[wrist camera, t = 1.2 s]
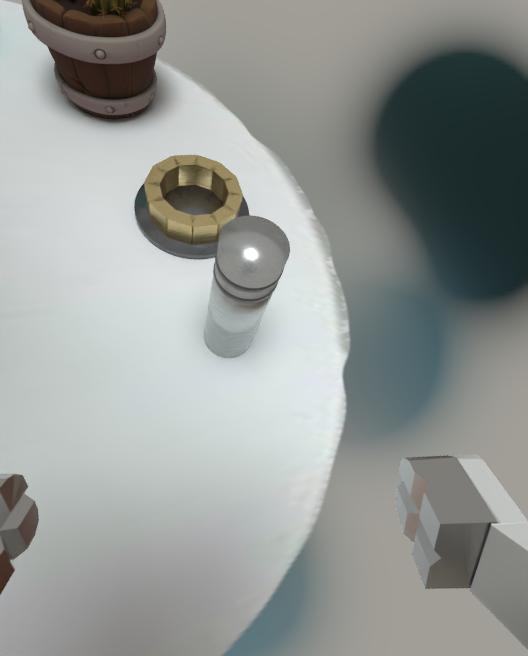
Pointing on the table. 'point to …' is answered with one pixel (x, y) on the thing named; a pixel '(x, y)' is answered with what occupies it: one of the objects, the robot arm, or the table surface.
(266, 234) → the piston
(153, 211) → the ring seat
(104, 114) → the flowerpot
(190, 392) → the table surface
